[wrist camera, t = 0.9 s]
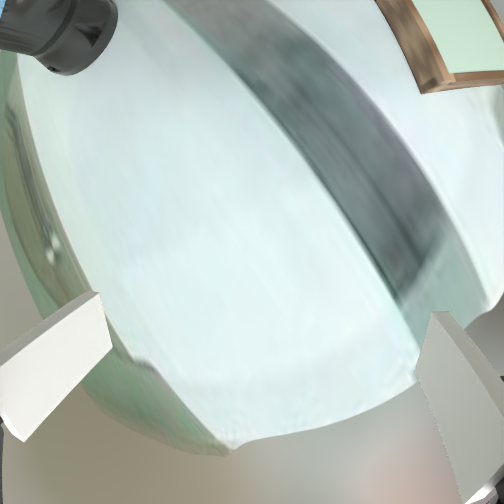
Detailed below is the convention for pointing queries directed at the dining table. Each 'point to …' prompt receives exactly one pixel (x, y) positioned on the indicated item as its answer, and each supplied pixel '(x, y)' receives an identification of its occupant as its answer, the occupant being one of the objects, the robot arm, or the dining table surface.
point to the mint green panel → (463, 34)
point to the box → (432, 49)
